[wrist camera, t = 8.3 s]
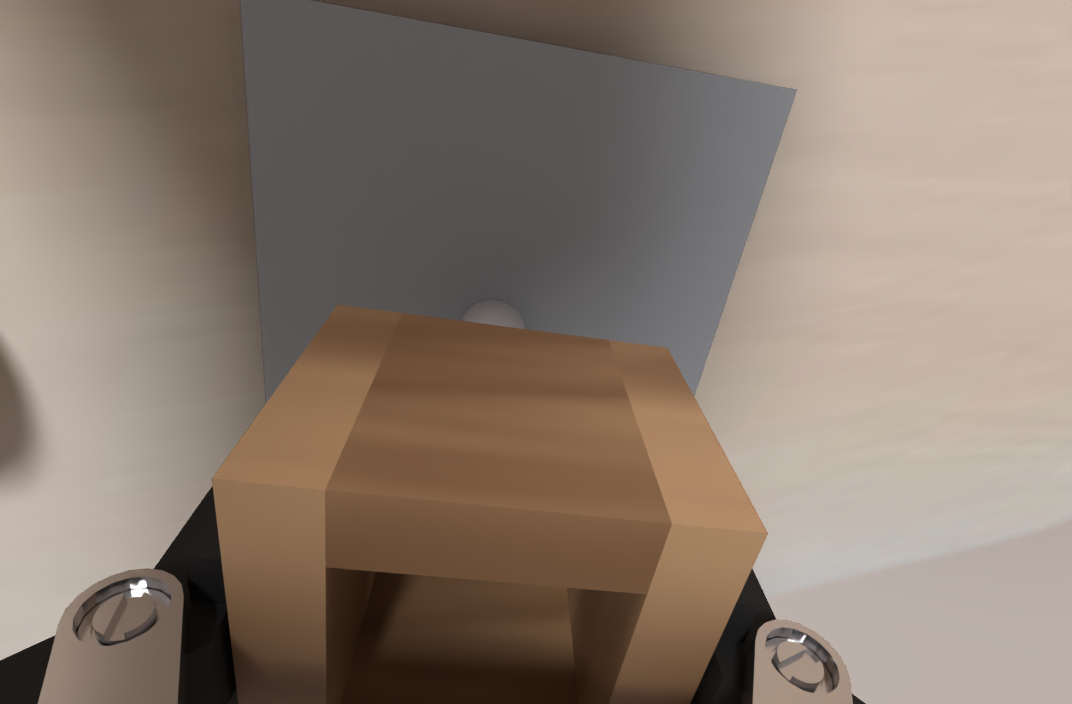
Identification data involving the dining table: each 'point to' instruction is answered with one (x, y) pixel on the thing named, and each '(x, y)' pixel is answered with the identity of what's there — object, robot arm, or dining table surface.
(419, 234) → the grey peg board
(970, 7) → the dining table surface
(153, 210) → the dining table surface
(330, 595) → the brown wooden hollow block
